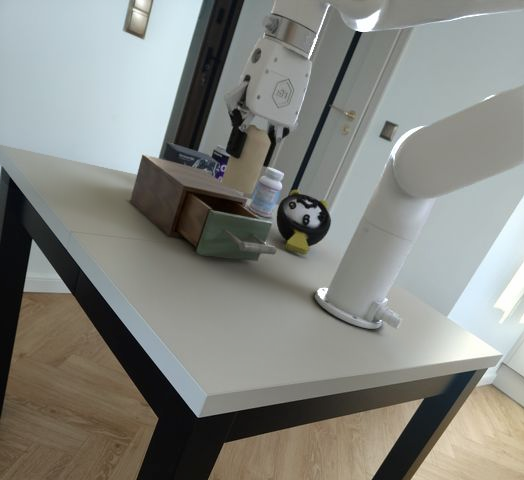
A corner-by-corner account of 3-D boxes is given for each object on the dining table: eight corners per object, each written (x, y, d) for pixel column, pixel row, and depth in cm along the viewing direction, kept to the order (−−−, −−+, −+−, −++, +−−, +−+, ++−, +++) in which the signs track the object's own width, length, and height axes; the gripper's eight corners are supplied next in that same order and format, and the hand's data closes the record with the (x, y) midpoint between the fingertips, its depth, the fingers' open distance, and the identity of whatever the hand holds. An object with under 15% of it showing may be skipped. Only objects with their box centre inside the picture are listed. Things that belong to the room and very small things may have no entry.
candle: (258, 196, 86) (280, 136, 81) (236, 192, 81) (259, 129, 77) (237, 183, 88) (257, 125, 84) (214, 179, 84) (235, 117, 80)
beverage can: (197, 190, 127) (212, 141, 122) (217, 195, 130) (232, 149, 125) (204, 197, 123) (220, 148, 118) (224, 203, 126) (241, 155, 121)
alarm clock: (257, 252, 114) (262, 183, 112) (299, 258, 124) (304, 195, 122) (297, 253, 105) (303, 178, 104) (338, 259, 116) (345, 192, 114)
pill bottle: (257, 208, 135) (272, 167, 130) (274, 218, 133) (291, 176, 128) (244, 207, 130) (259, 164, 125) (262, 217, 128) (278, 174, 123)
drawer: (278, 277, 88) (294, 238, 85) (220, 272, 79) (235, 229, 76) (215, 227, 100) (227, 192, 97) (158, 218, 91) (169, 179, 88)
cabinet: (231, 244, 98) (247, 199, 94) (168, 236, 88) (184, 185, 84) (190, 212, 107) (204, 169, 103) (130, 201, 97) (142, 154, 93)
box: (163, 199, 108) (177, 150, 103) (152, 188, 112) (165, 140, 108) (206, 208, 114) (221, 163, 110) (193, 198, 119) (207, 153, 114)
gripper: (262, 20, 67) (217, 156, 75) (342, 65, 79) (296, 178, 87) (230, 10, 71) (192, 139, 79) (311, 54, 83) (270, 163, 91)
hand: (247, 158), depth 83 cm, fingers closed on candle, 5 cm apart
